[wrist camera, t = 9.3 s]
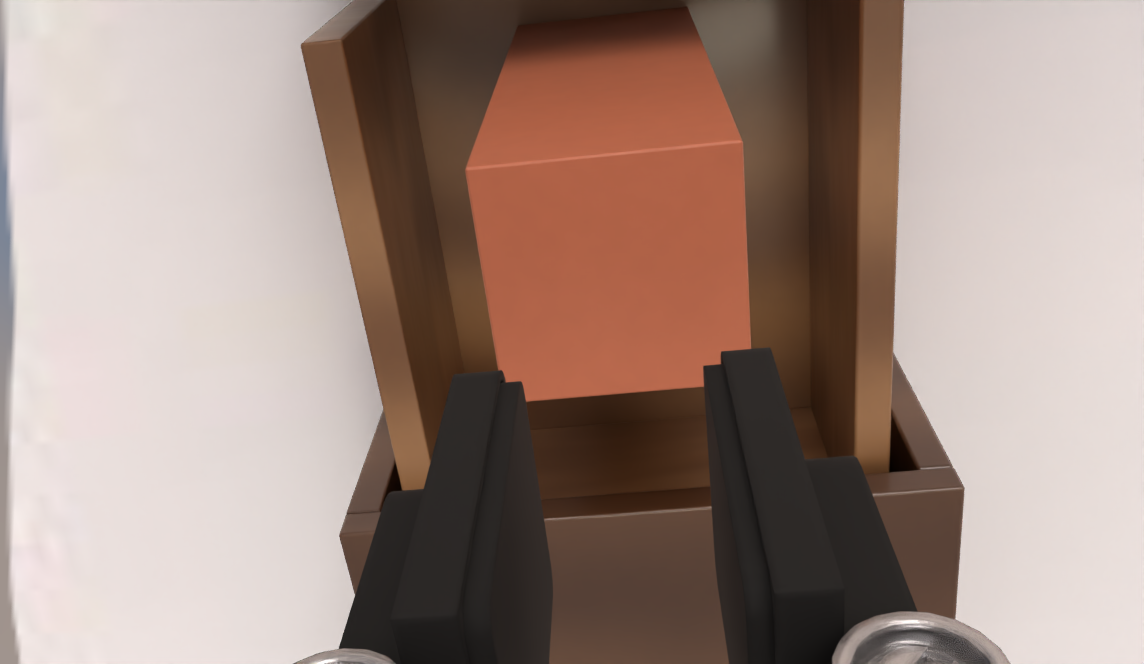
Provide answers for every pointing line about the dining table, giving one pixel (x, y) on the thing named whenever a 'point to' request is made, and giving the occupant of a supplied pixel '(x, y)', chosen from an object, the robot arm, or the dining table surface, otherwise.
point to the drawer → (773, 222)
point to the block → (610, 208)
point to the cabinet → (692, 549)
